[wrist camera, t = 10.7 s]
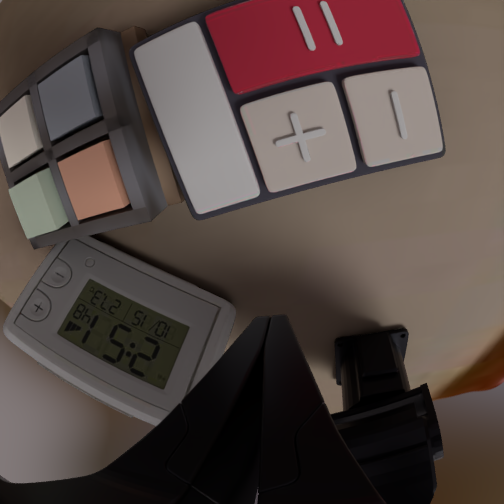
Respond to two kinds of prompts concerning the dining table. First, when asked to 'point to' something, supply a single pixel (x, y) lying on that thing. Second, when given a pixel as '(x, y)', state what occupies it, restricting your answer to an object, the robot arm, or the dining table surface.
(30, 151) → the key cream
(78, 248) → the digital clock
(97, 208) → the key terracotta
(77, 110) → the key slate
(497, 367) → the dining table surface
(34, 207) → the key sage
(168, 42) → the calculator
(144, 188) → the keypad
